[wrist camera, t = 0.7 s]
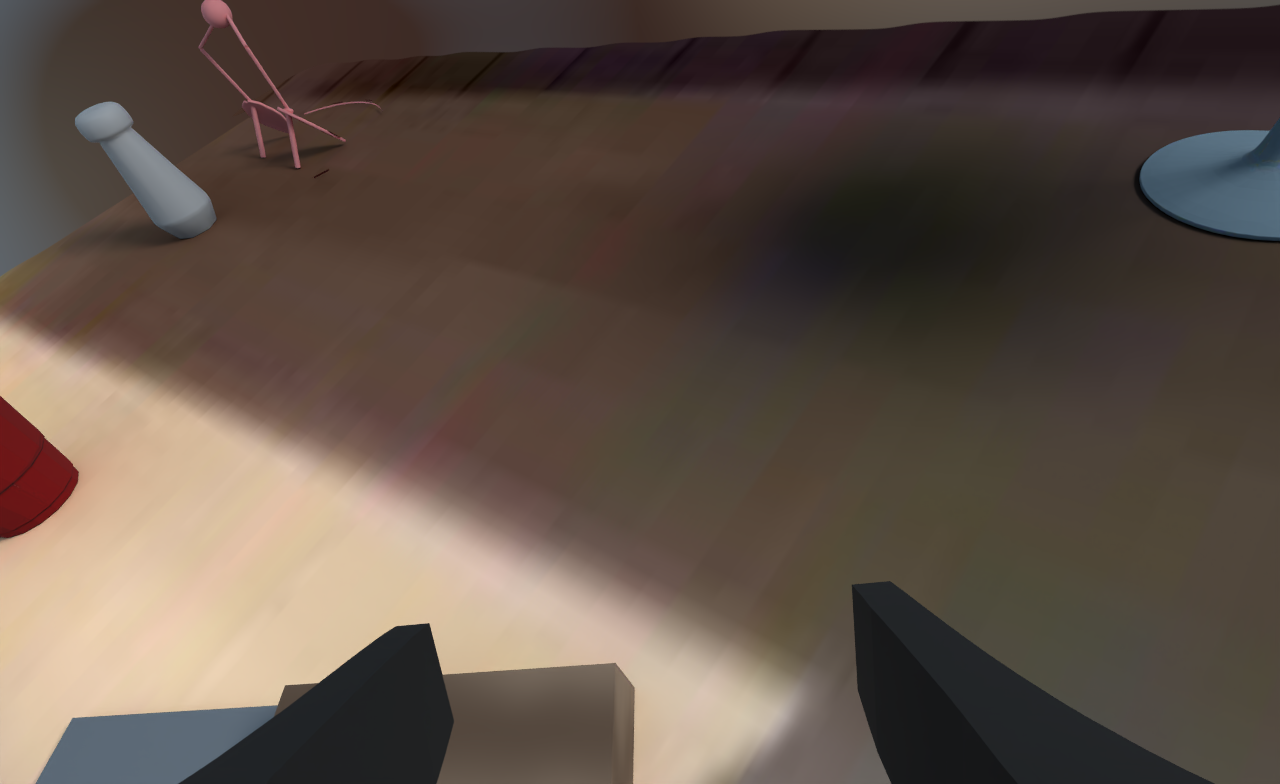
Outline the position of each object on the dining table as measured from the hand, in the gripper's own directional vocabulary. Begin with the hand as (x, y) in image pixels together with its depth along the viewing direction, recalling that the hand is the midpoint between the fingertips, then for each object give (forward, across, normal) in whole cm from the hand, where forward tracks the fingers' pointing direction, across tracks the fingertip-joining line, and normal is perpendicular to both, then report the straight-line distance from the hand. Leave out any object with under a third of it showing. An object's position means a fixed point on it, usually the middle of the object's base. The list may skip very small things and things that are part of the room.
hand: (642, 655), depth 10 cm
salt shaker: (+57, +49, -14) cm, 77 cm away
